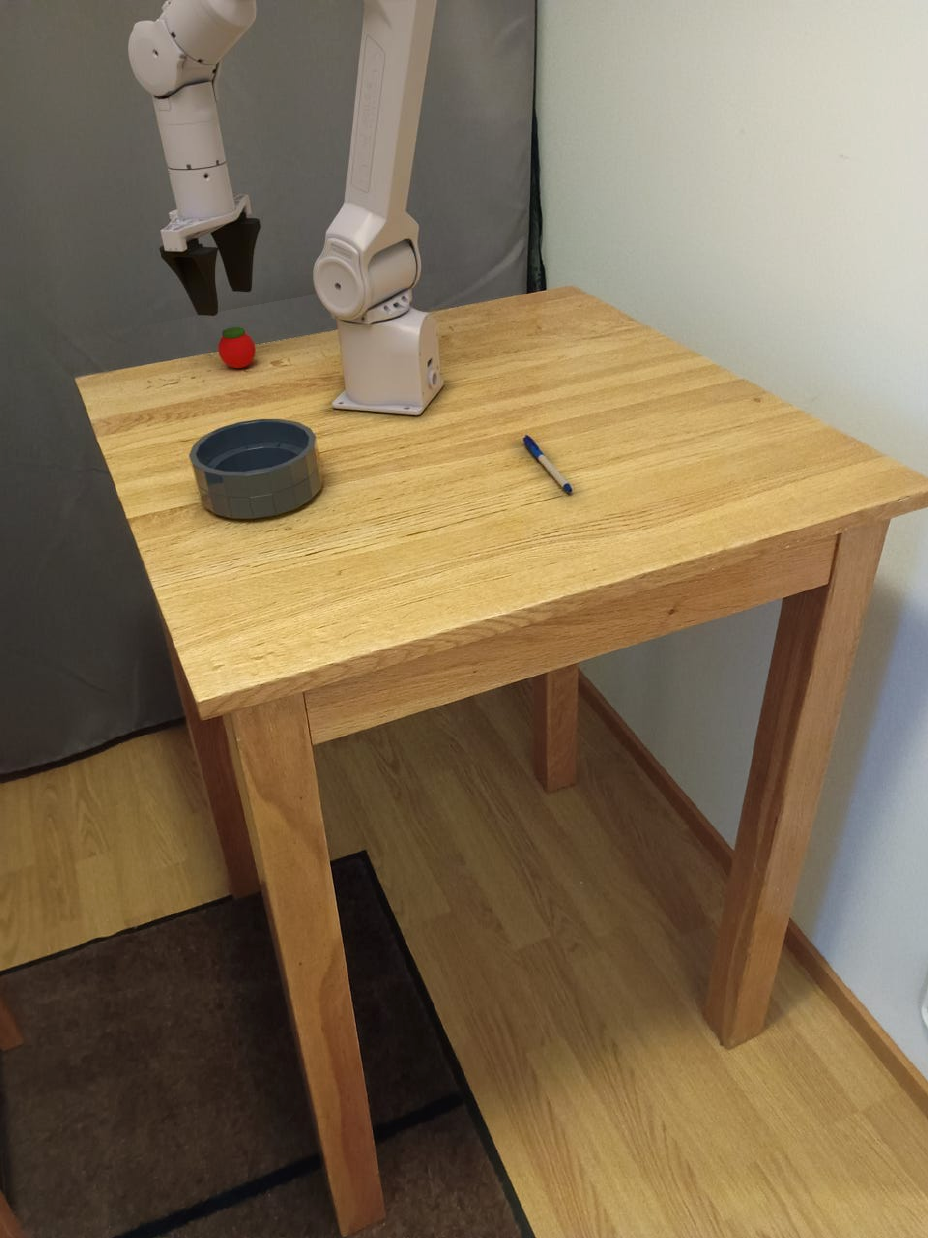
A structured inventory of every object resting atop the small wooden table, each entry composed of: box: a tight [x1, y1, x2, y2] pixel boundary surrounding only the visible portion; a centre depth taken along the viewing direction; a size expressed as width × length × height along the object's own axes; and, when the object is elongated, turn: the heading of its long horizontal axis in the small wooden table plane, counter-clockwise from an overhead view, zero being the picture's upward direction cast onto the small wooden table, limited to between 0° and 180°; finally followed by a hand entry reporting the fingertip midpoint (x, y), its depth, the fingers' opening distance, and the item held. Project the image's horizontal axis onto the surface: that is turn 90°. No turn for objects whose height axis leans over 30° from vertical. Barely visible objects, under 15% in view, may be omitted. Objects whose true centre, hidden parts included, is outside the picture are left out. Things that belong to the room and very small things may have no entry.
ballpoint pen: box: [522, 434, 573, 494], centre depth 80 cm, size 10×1×1 cm, turn 19°
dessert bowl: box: [188, 418, 324, 520], centre depth 79 cm, size 10×10×4 cm
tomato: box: [217, 326, 256, 369], centre depth 103 cm, size 4×4×4 cm
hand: (225, 302), depth 99 cm, fingers open, 7 cm apart
